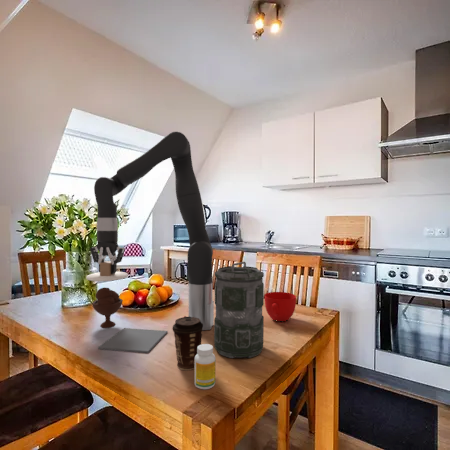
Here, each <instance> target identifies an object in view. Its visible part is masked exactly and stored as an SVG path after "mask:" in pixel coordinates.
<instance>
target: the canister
mask: <svg viewBox="0 0 450 450" xmlns="http://www.w3.org/2000/svg"><path fill="white" fill-rule="evenodd" d="M240 265H243V266H240ZM214 276H215V282H214V306H215V316H214V325H213V328H214V329H213V333H214V335H213V338H214V339H213V343H214V348H215V350H216V351H217V352H218V354H219V355H221V356H223V357H226V358H230V359H233V358H234V359H235V358H247V359H251V358H254V357H257V356H258V355H260V354H261V353H262V350H263V349H264V332H265V331H264V329H265V328H264V323H265V322H264V321H265V319H264V315H263V306H264V305H265V294H264V293H265V292H264V291H265V290H264V289H265V288H264V287H265V286H264V285H265V284H264V282H263V278H264V276H265V274H264V272H263V271H261V270H260V269H258V268H257V267H255V266H247V262H246V261H240V262H236V263H232V265H230V266H221V267H219V268H217V270H216V271H214Z"/></svg>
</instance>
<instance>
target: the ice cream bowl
mask: <svg viewBox="0 0 450 450" xmlns="http://www.w3.org/2000/svg"><path fill="white" fill-rule="evenodd" d="M95 298H96V300H94V301H92V303H91V304H92V307H93V310H94V311H95V312H97V313H98V315H99V314H100V315H101V316H104V317H105V320H104V321H103V322H102V323H101V324H100V327H101V328H103V329H107V328H108V329H109V328H112V327H115V326H116V323H115V322H114V321H112V320H111V316H112V315H114V314H115V313H117V311H118V310H119V309H120V308H121V306H122V304H123V301H124V300H123V299H121V298H120V294H119V293H118V292H116V291H115V290H113V289H111V288H109V287H101V288H98V290H97V291H96V293H95Z"/></svg>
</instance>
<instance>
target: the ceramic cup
mask: <svg viewBox="0 0 450 450" xmlns="http://www.w3.org/2000/svg"><path fill="white" fill-rule="evenodd" d="M264 305H265V310H266V313H267V314H268V316H269V317H270V319H271V320H272V319H273V320H277V321H286V320H288V321H289V320H290V319H291V318H292V317H293V315H294V313H295V309H296V305H297V296H296V295H295V294H293V293H290V292H284V291H270V292H266V293H265V294H264ZM273 320H272V321H273ZM286 322H287V321H286Z"/></svg>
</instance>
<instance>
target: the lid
mask: <svg viewBox="0 0 450 450" xmlns="http://www.w3.org/2000/svg"><path fill="white" fill-rule="evenodd" d="M111 265H112V264H111V261H107V260H105V261H104V262H101V263H100V272H99V271H98V272H95V273H90V274H88V275H86V278H85V279H86V280H87V281H91V282H108V281H109V282H111V281H119V280H124V279H126V278H129V276H128V275H129V274H128V272H124V271H116V272H115V274H111Z"/></svg>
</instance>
